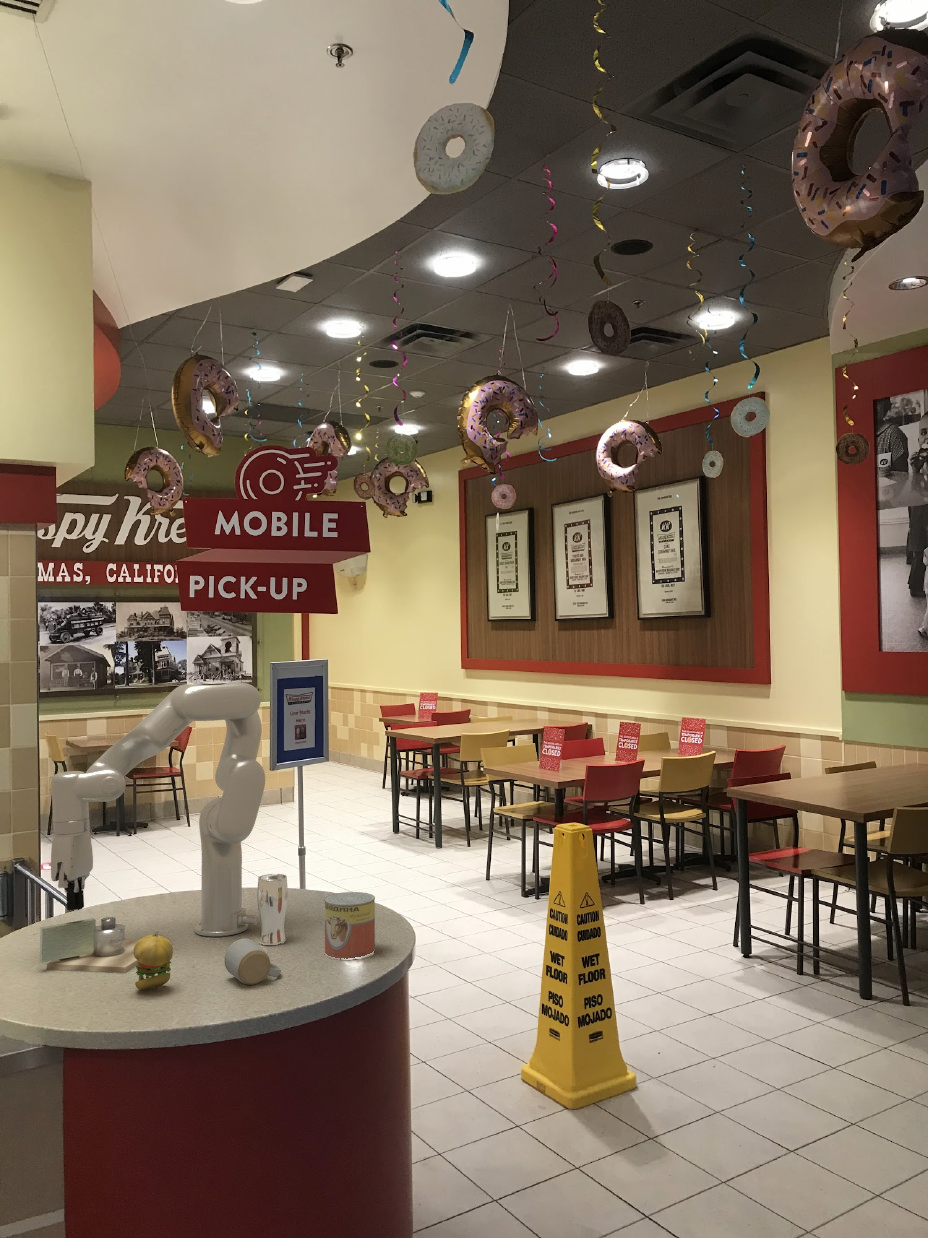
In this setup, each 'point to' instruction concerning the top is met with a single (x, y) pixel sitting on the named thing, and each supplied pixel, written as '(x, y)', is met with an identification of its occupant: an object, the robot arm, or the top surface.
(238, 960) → the ceramic mug
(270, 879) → the beer glass
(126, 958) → the board
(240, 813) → the robot arm
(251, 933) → the top surface
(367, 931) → the canned food
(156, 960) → the hamburger
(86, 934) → the green panel with knob
